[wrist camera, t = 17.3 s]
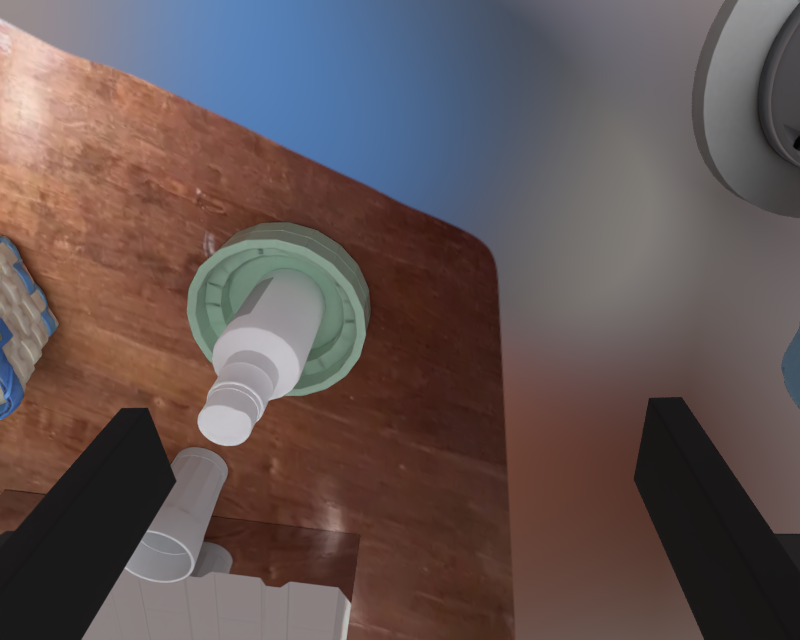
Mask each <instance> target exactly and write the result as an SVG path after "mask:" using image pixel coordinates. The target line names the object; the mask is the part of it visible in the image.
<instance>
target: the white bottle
mask: <svg viewBox="0 0 800 640" xmlns="http://www.w3.org/2000/svg"><path fill="white" fill-rule="evenodd" d="M324 311H325V297H324V295H323V293H322V291H321V288H320V286H319V285H318V284H317V283H316V282H315V281H314V280H313V279H312V278H311V277H309V276H308V275H306V274H305V273H303V272H300V271H297V270H294V269H277V270H274V271H271V272H268V273H267V274H266V275H264V276H263V277H262V278H260V280H259V281H258V283H257V284H256V285H255V287H254V288H253V290H252V291H251V293H250V294H249V295H248V297H247V298H246V300H245V301H244V303H243V304H242V305H241V307H240V308H239V310H238V311H237V312H236V314H235V315H234V317H233V318H232V320H231V321H230V322H229V324H228V325H227V327H226V328H225V330H224V331H223V332H222V334H221V335H220V337H219V338H218V340H217V342H216V343H215V345H214V349H213V355H212V361H213V366H214V370H215V372H216V374H217V375H218V378H217V380H216V381H215V383H214V384H213V386H212V388H211V389H210V391H209V392H208V395H207V402H206V404H205V406H204V407H203V409H202V410H201V412H200V414H199V415H198V426H199V429H200V431H201V432H202V434H203V435H204V436H205V437H206V438H208V439H209V440H210V441H212V442H214V443H216V444H220V445H224V446H234V445H238V444H241V443H242V442H244V441H245V440H246V439H247V438H248V437H249V435H250V433H251V431H252V429H253V426H254V424H255V423H256V422H257V421H258V420H259V419H260V418H261V416H262V415H263V412H264V410H265V408H266V406H267V403H268V401H269V400H272V399H276V398H280V397H282V396H284V395H285V394H287V393H288V392H290V391H291V390H292V389H293V388H294V386H295V385H296V384H297V382H298V381H299V378H300V376H301V373H302V371H303V368H304V365H305V363H306V360H307V357H308V355H309V352H310V350H311V347H312V344H313V342H314V339H315V336H316V334H317V331H318V329H319V326H320V323H321V321H322V318H323V315H324Z"/></svg>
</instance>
